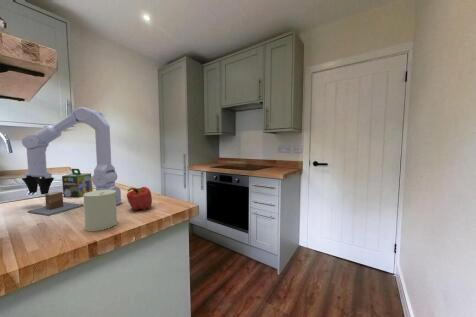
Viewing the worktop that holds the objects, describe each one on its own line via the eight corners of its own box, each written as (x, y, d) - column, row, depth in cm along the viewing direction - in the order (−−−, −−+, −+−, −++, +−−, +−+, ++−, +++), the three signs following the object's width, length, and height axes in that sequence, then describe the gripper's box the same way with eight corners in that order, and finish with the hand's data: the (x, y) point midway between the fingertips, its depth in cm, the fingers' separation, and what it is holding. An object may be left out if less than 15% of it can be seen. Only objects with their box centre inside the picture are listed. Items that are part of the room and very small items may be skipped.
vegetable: (136, 214, 78) (135, 190, 77) (119, 210, 82) (118, 187, 81) (158, 206, 87) (157, 184, 87) (142, 203, 92) (141, 182, 91)
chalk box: (93, 193, 111) (92, 167, 110) (78, 197, 101) (76, 169, 100) (78, 192, 112) (77, 167, 110) (62, 197, 102) (60, 169, 101)
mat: (83, 205, 88) (83, 204, 88) (48, 215, 76) (48, 214, 76) (63, 203, 92) (63, 202, 92) (27, 212, 80) (27, 210, 79)
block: (63, 206, 85) (62, 191, 85) (50, 209, 81) (50, 194, 81) (58, 205, 86) (57, 191, 86) (46, 209, 82) (45, 193, 81)
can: (88, 234, 61) (86, 196, 60) (81, 226, 67) (80, 191, 66) (121, 224, 68) (120, 191, 67) (112, 218, 74) (111, 187, 73)
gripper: (14, 163, 84) (16, 194, 85) (36, 164, 80) (38, 196, 81) (35, 161, 91) (37, 190, 92) (56, 162, 86) (58, 192, 87)
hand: (39, 193), depth 87 cm, fingers open, 7 cm apart
